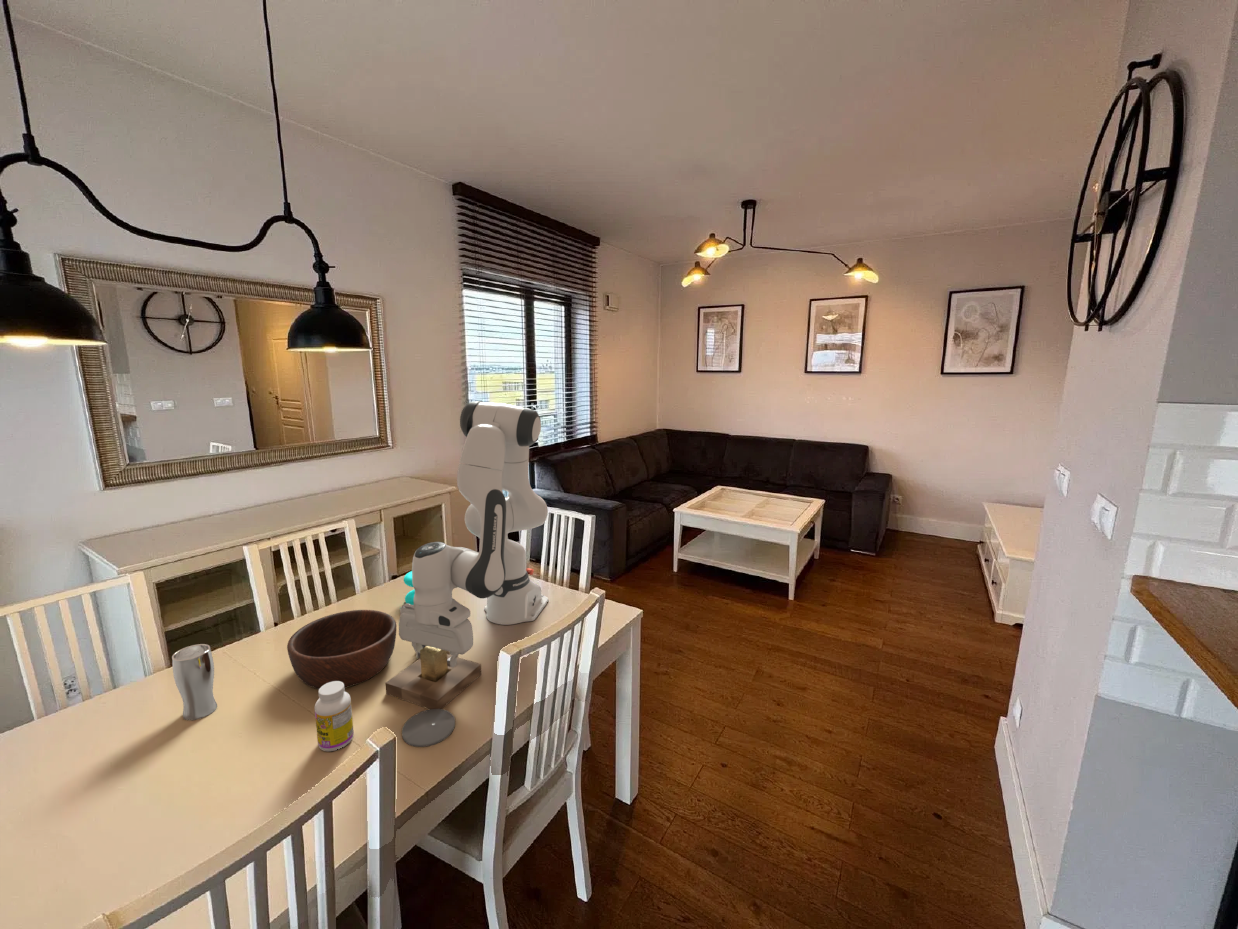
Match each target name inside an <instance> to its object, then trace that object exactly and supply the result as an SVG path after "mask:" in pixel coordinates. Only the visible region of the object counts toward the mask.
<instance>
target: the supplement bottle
mask: <svg viewBox="0 0 1238 929" xmlns="http://www.w3.org/2000/svg"><path fill="white" fill-rule="evenodd" d="M345 688H346V687H345ZM345 688H344V683H343V682H341V681H333V682H329V683H326V684H325V685H323V686H322V687H321V688H320V689H318V692H317V693H318V699H317V701H316V702H315V704H314V716H315V726H316V738H317V744H318V748H319V749H320V750H321V751H324V752H335V751H338V750H340V748H341V749H343V748H345V747H346V746H348V745H349V743H351V742H352V740H353V738H354V724H353V722H354V720H353V711H352V699H351V694H349V692H347V691H346V690H345ZM342 747H343V748H342ZM337 749H338V750H337Z"/></svg>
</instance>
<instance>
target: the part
mask: <svg viewBox="0 0 1238 929" xmlns="http://www.w3.org/2000/svg"><path fill="white" fill-rule="evenodd" d="M447 654H448V651H445V650H441V649H437V648H433V647H429V646H426V647H424V648H423V649H421V650H420V659H421V676H422V678H423V679H426V680H429V681H432V682H435V683H436V682H437V681H438V680H440V679H441V678H442V677H443V676H445V675H446V674H447V673H448V666H447Z"/></svg>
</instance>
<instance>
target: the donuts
mask: <svg viewBox="0 0 1238 929" xmlns="http://www.w3.org/2000/svg"><path fill="white" fill-rule="evenodd" d="M403 583H404V584H405V585H406V586H407V587H410V588H413V589H412V590H410V591H409V592H407V593H406V595H405V597H404V601H405V604H406V603H408V604H411V605H414V595H415V589H414V587H413V583H412V570H411V571H409V572H407V573H406V574H405V575H404V577H403Z"/></svg>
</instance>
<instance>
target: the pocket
mask: <svg viewBox="0 0 1238 929" xmlns="http://www.w3.org/2000/svg"><path fill="white" fill-rule="evenodd" d="M450 657H452V655H450V653H447V660H448V659H449V658H450ZM456 660H457V663H456V665H455V666H454V667H450V666H448V673H447V674H446V675H445V676H443V677H442V678H441V679H440V680H438V681H437V682H436V683H435V682H432V681H429V680H426V679H423V678H422V676H421V659H419V658H418V659H417V660H416V661H414V662H413V663H412V664H410V665H409V666H407V667H406V668H404V669H403V670H401V671H400V672H399V673H397V674H395V675H394V676H393V677H391V678H390V679H388V680H387V681H386V682H384V683H385V685H384V686H385V694H386V695H388V696H391V697H393V698H398V699H399V700H403V701H406V702H408V703H411V704H415V705H416V706H419V707H423V708H424V709H427V710H429V709H443V708H445V707H446V706H447V705H448V704H449V703H450V702H452V700H453V699H455V698H456V697H458V695H459V694H461V693H462V692H463V691H464V690H465V689H466V688H468V687H469V686H470V685H471V684H472V683H473V682H474V681H476V680H477V679H478V678H479V677H480V676H481V675H482V664H481V663H478V662H475V661H473V660H468V659H465V658H462V657H459V656H458V657H457V658H456ZM447 664H448V663H447Z"/></svg>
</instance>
